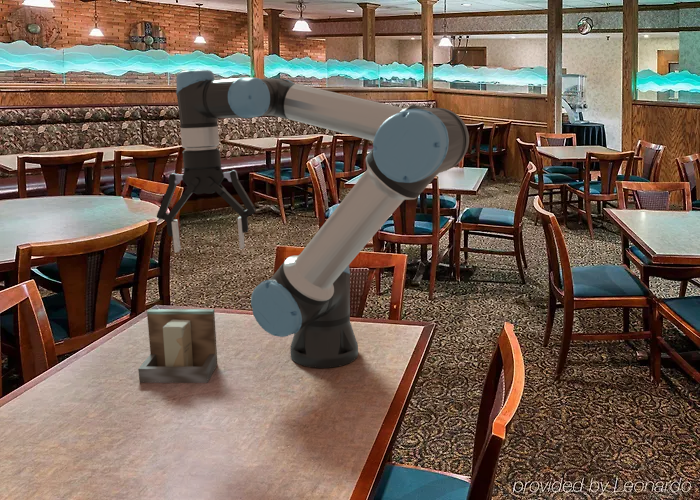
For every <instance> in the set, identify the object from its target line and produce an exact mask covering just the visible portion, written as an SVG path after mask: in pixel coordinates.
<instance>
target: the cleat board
mask: <svg viewBox="0 0 700 500" xmlns="http://www.w3.org/2000/svg"><path fill="white" fill-rule="evenodd" d="M146 315H147V316H146V317H147V318H146V319H147V327H148V328H147V329H148V340H149V350H150V352H149V353H150V354H149V355H148V357H146V359H145V360H144V361H143V363H142V364H141V365H140V366H139V368H138V370H137V372H138V379H139V381H138V383H140V384H141V383H142V384H143V383H145V384H146V383H153V384H154V383H156V384H157V383H159V384H160V383H161V384H163V383H167V384H168V383H171V384H172V383H174V384H175V383H176V384H177V383H180V384H181V383H183V384H185V383H187V384H189V383H193V384H194V383H195V384H197V383H200V384H201V383H205V384H206V383H207V384H208V383H209V380H210V379H211V377H212V375H213V373H214V372H215V370H216V368H217V366H218V352H217V351H218V350H217V333H216V319H215V317H216V316H215V315H216V314H215V309H214V308H213V309H212V308H207V309H206V308H202V309H201V308H200V309H199V308H192V309H191V308H187V309H186V308H185V309H184V308H182V309H181V308H180V309H179V308H178V309H177V308H176V309H175V308H174V309H172V308H171V309H170V308H169V309H167V308H164V309H163V308H162V309H161V308H160V309H159V308H155V309H154V308H153V309H150V308H149V309H148V310H147V311H146ZM171 320H190V325H191V340H192V356H193V367H166V366H165V352H164V338H163V327H164V326H165V325H166V324H167V323H168V322H170V321H171Z"/></svg>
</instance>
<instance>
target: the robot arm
mask: <svg viewBox="0 0 700 500" xmlns="http://www.w3.org/2000/svg"><path fill="white" fill-rule="evenodd" d="M175 78H176V79H175V81H176V85H175V86H176V92H175V94H176V99H177V105H178V108H177V109H178V115H179V123H180V140H181V147H182V148H183V149H185V150H183V151H182V161H183V174H182V173H181V174H179V173H177V172H172V173H170V174H169V175H168V186H167V188H166V191H165V193H164V195H163V198H162V201H161V204H160V206H159V209H158V211H157V213H156V218H157V219H158V220H164V221H165V222H166V228H167V229H166V230H167V236H168V237H172V239H173V240H172V241H173V248H174V249H173V250H174V253H179V252H180V251H182V250H181V249H182V248H181V241H180V239H181V238H180V229H179V221H178V219H175V218H176V215H178V213H179V212H180V210H181V209H182V208H183V206H184V205H185V203H186V202H187V201H188V199H190V197H191V196H192V194H193V193H194V194H196V195H202V194H207V195H210V194H214V193H217V194H218V195H219V196H220V197H221V198H222V199H223V200H224V201H225V202H226V203H227V204H228V206H230V207H231V208H232V209H233V210H234V212H236V213H237V214H238V215H239V216H238V217H237V230H238V233H237V234H238V242H239V250H244V249H245V247H246V246H245V233H248V232H249V219H248V218H249V216H251V215H254V214H255V213H256V210H257V209H256V207H255V205H254V203H253V202H252V200H251V199H250V197H249V195H248V194H247V192H246V191H245V188H244V187H243V185H242V184H241V182H240V180H239V176H238V171H237V170H236V169H232V170H231V171H223V169H222V160H221V159H222V158H221V150H220V149H219V148H218V146H219V145H220V138H219V137H220V135H219V126H218V119H239V118H240V119H241V118H243V119H253V118H256V117H265V116H271V117H272V116H273V117H277V118H281V119H285V120H286V119H287V120H290V121H295V122H298V123H302V124H306V125H310V126H313V127H318V128H321V129H326V130H329V131H334V132H336V133H341V134H345V135H349V136H352V137H357V138H361V139H364V140H367V141H371V142H372V143H373V144H372V149H371V150H370V151H369V153H367V155H366V156H365V164H366V170H365V171H364V173H362V175H361V177H360V178H359V179H358V180H357V181H356V183H355V184H354V185H353V187H352V188H351V189H350V190H349V192H348V193H347V194H346V196H345V197H344V198H343V199H342V200H341V202H340V203H339V204H338V205H337V207H336V208H335V209H334V211H333V212H331V215H330V216H329V217H328V218H327V219H326V220H325V221H324V223H323V225H322V226H320V228H319V229H318V231H317V232H316V233H315V235H314V236H313V237H312V238H311V240H310V241H309V242H308V244H306V246H305V247H304V249H303V250H302V251H301V252H300V254H298V255H291V256H288V257H287V258H286V259H285V260H284V261H283V263H282V264H281V265H280V266H279V268H278V269H277V270H276V272H275V273H274V274H273V275H272V276H271V277H270V278H269V279H266V280H263V281H261V282H259V284H257V285H256V287H255V288H253V291H252V293H251V297H250V305H251V308H252V312H251V313H252V315H253V317H254V320H255V321H256V323H257V324H258V325H259V326H260V328H262V329H263V331H265V332H266V333H268V334H269V335H271V336H274V337H280V338H284V337H289V336H291V335H293V337H292V341H291V343H290V348H289V349H290V358H291V360H292V361H293V362H294V363H296V364H298V365H301V366H302V367H303V366H304V367H308V368H309V367H310V368H314V369H315V368H318V369H319V368H320V369H322V368H323V369H326V368H327V369H329V368H337V367H341V366H345V365H348V364H351V363H352V362H354V361H355V360H356V359H357V358H358V356H359V345H358V341H357V338H356V336H355V331H354V330H353V326H352V324H351V307H350V306H351V296H350V295H351V293H350V292H351V289H350V287H351V279H350V278H351V277H350V276H351V271H350V264H351V263H352V262H353V261H354V259H355V258H356V257H357V256H358V255H359V253H360V252H361V251H362V250H363V249H364V247H366V245H367V244H368V243H369V242H370V241H371V239H373V237H374V236H375V235H376V234H377V232H378V231H379V230H380V229H381V228H382V227H383V226H384V224H385V223H386V222H387V221H388V219H389V218H390V217H391V216H392V215H393V214H394V212H395V211H396V210H397V208H399V206H401V204H402V203H403V202H404V201H405V200H406V201H407V200H416V199H418V197H419V196H420V195H421V194H422V193H423V191H424V190H425V189H426V188H427V187H428V186H429V184H430V183H432V181H433V180H434V179H435V178H436V177H437V176H438V174H441V173H443V172H446V171H448V170H451V169H453V168H454V167H456V166H457V165H458V164H459V163H460V162H461V161H463V159H464V157H465V156H466V153H467V151H468V149H469V144H470V134H469V131H468V128H467V125H466V123H465V122H464V120H463V119H462V118H461V116H459V115H458V114H457V113H455V112H454V111H453V110H450V109H447V108H444V107H443V108H442V107H428V106H427V107H426V106H421V105H417V104H409V105H407V106H406V107H405V108H404V107H401V106H400V107H399V106H397V105H391V104H387V103H382V102H378V101H374V100H369V99H365V98H361V97H356V96H352V95H347V94H343V93H338V92H335V91H331V90H325V89H321V88H317V87H312V86H309V85H308V86H307V85H304V84H299V83H295V82H293V81H292V80H289V79H286V78H281V77H276V78H259V77H251V76H249V77H248V76H247V77H245V76H243V77H237V78H236V77H235V78H227V79H226V78H225V79H215V77H214V72H213V71H211V70H205V69H200V70H197V69H196V70H183V71H179V72H177V74H176V77H175ZM224 179H227V181H228V182H229V183H232V184H231V185H232V187H233V188H234V189H235V191H236V193H237V195H238V196H239V198H240V200H241V201H242V203H243V204H244V206H245V208H244V207H243V206H242V205H241V204H240V203H239V202H238V201H237V200H236V198H234V197H233V196H232V195H231V193H230V192H228V191H227V189H226V188H225V187H224V186H223V185H222V182H223V181H224ZM181 181H183V182H184V183H185V184H186V186H187V188H186V189H185V191H184V192H183V193H182V195H181V197H180V198H179V199H178V200H177V202H176V203H175V205H174V206H173V208H171V210H170V211H169V213H167V211H168V208H169V206H170V203H171V201H172V198H173V196H174V193H175V190H176V188H177V185H179V184H180V183H181Z"/></svg>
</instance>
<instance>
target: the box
mask: <svg viewBox="0 0 700 500" xmlns="http://www.w3.org/2000/svg"><path fill="white" fill-rule="evenodd" d="M163 338H164V352H165V366H166V367H193V356H192V340H191V325H190V320H171V321H170V322H168V323H167V324H166V325H165V326H164V327H163Z"/></svg>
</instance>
